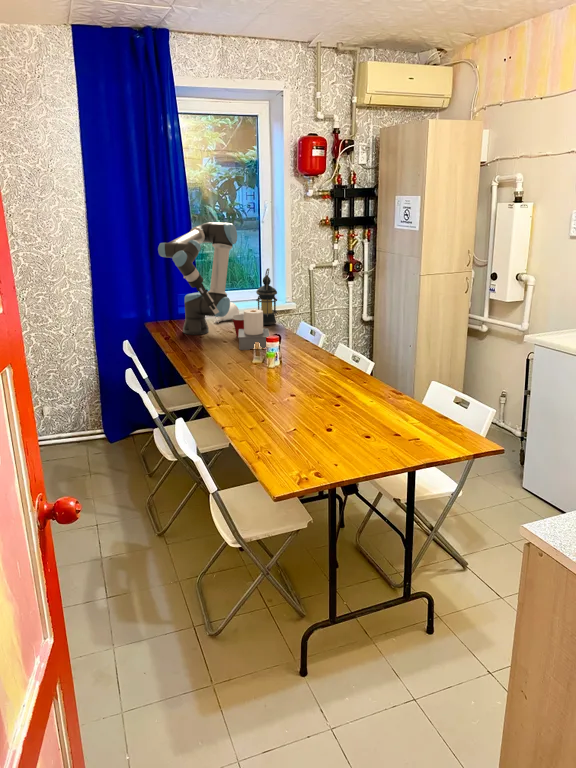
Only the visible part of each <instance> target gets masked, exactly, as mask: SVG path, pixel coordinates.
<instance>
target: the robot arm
mask: <svg viewBox="0 0 576 768" xmlns="http://www.w3.org/2000/svg"><path fill="white" fill-rule="evenodd" d="M237 241H238V233H237V228H236V225H234V224H233V223H230V222H209V221H208V222H204V223H201V224H199V225H196V226H194V227H192V228H191V229H190V231H189V232H187V233H185V234H183V235H181V236H178V237H177V238H175V239H173V240H171V241H169V242H160V243H159V245H158V247H157V251H158V256H160V257H162V258H167V259H168V258H170V259H172V261H173V263H174V266H176V267H177V269H178V270H179V272H180V274H182V276H183V279H185V280H186V282H187V283H188V284H189V286H190V287H191V288H193V289H194V288H196V291H197V292H192V293H187V294H186V295H185V296H184V303H183V304H184V313H185V314H184V315H185V320H184V324H183V327H182V333H183V334H185V335H191V336H192V335H193V336H195V335H197V336H198V335H204V334H207V333H209V332H210V330H209V325H208V323H207V320H206V317H214V318H215V317H216V318H217V317H224V316H225V315H226V314H227V313H228V311H229V308H230V302H231V301H230V298H229V297H228V294H227V292H226V285H227V276H228V275H227V274H228V267H229V266H228V265H229V256H230V250H231V249H233V245H235V244H237ZM203 243H204V244H205V243H206V244H207V243H209V244H211V246H212V247H213V248H214V251H213V260H212V271H211V277H210V287H209V288H210V289H209V290H208V289H206V288H205V286H204V284H203V282H204V278H203V277H202V275H201V274H200V272H199V271H198V269H197V268H196V266H195V265H194V263H193V262H195V260H196V258H197V257H198V256H199V253H200V251H201V249H202V248H201V247H202V246H201V244H203Z"/></svg>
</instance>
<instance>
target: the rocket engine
mask: <svg viewBox="0 0 576 768" xmlns="http://www.w3.org/2000/svg"><path fill="white" fill-rule="evenodd" d="M238 314H240V310H239V307H238V306H237V305H236V304H235V303H234V302H232V301H230V308H229V311H228V313H227V314H226V315H225V316H224V317H214V319H215V320H214V321H213V324H216V323H218V324H220V323H219V322H221V321H224V322H225V321H231V320H233V319H232V316H234V315H238Z"/></svg>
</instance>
